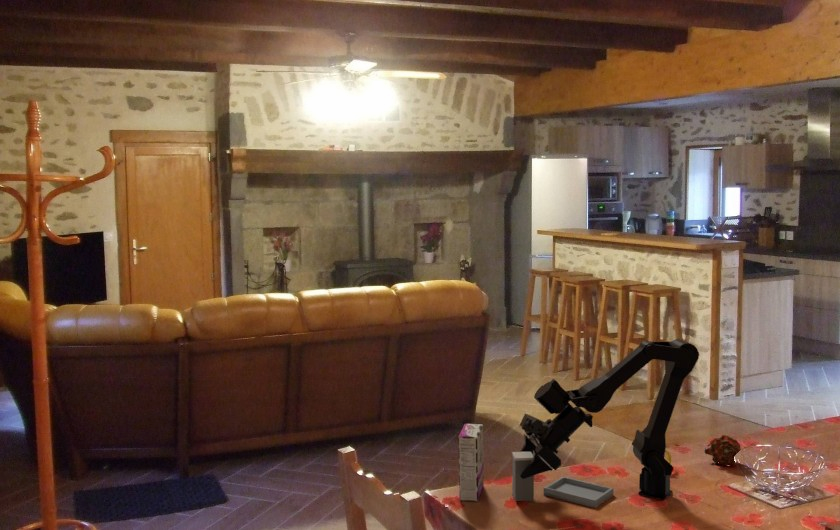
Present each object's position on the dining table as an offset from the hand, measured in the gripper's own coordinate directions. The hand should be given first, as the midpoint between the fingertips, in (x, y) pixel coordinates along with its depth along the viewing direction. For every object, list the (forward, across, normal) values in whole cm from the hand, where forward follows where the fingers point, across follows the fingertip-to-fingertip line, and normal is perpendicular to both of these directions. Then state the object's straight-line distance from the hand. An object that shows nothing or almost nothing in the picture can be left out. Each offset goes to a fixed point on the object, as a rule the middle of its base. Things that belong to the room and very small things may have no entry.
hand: (518, 470), depth 199 cm
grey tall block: (+4, 0, +6) cm, 7 cm away
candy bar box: (+13, -4, -3) cm, 14 cm away
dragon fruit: (-38, -21, +48) cm, 65 cm away
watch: (-25, -18, +34) cm, 46 cm away
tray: (-6, -1, +16) cm, 17 cm away
